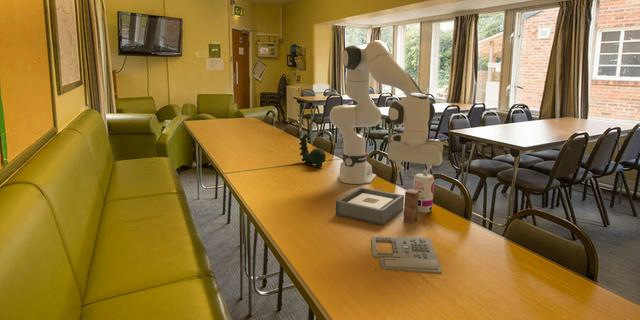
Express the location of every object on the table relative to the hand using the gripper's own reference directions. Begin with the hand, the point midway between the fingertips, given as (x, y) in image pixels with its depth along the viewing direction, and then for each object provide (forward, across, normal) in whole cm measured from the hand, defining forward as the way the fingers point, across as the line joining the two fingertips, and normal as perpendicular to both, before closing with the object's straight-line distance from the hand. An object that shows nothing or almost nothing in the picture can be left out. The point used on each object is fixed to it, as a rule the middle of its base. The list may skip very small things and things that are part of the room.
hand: (413, 173), depth 153 cm
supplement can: (+19, 0, -14) cm, 24 cm away
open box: (+19, +17, 0) cm, 25 cm away
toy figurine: (+18, +79, -52) cm, 97 cm away
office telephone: (+20, -8, +28) cm, 35 cm away
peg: (+19, 0, 0) cm, 19 cm away
